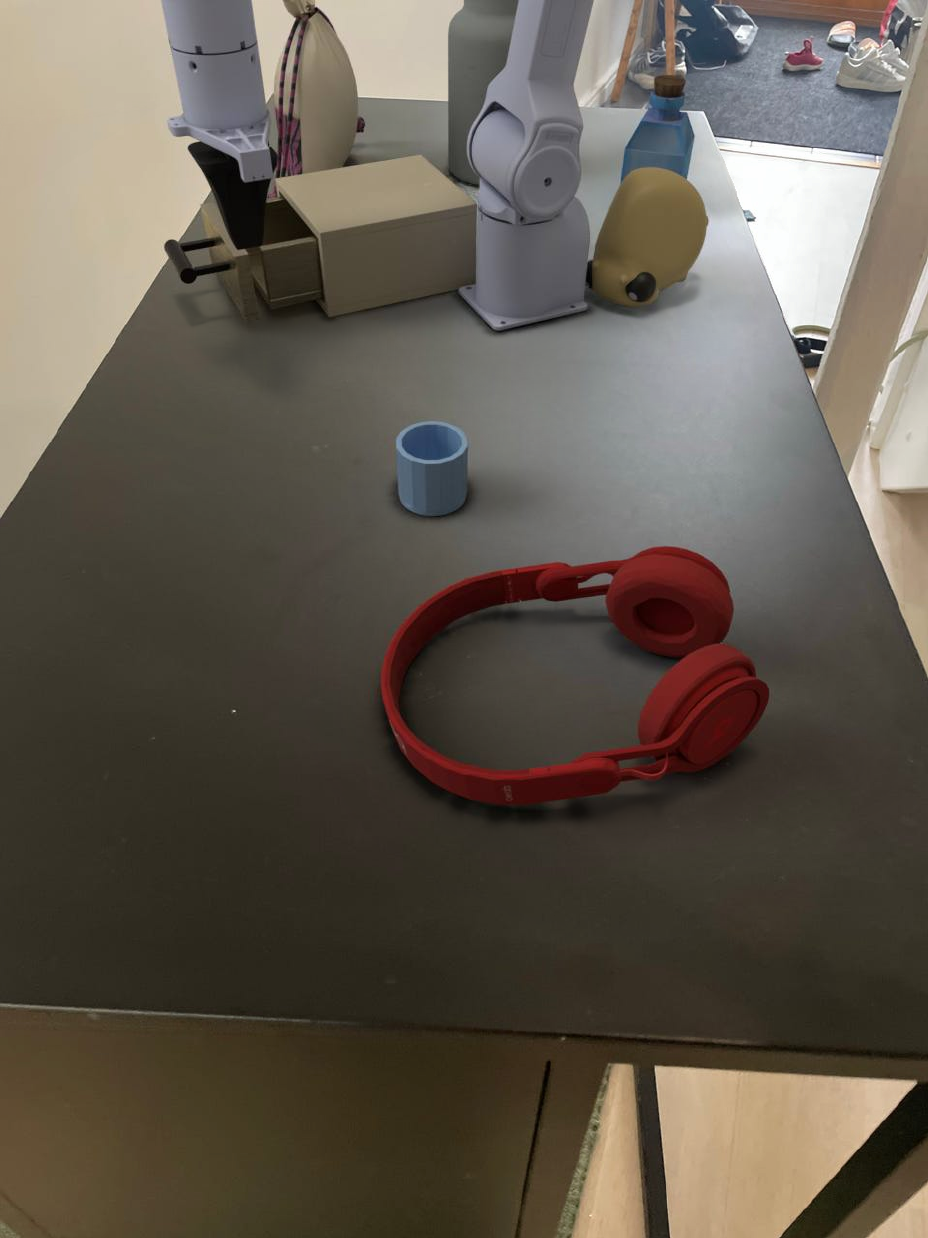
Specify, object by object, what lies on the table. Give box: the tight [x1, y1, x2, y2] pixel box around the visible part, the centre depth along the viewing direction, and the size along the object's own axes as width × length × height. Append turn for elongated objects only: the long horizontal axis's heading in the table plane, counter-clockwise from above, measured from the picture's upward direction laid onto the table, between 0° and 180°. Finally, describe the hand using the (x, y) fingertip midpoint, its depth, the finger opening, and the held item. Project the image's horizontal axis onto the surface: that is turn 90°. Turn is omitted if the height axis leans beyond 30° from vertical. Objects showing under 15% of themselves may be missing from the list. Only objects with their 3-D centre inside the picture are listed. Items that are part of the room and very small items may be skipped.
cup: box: [395, 420, 469, 517], centre depth 63 cm, size 5×5×4 cm
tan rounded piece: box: [585, 167, 710, 308], centre depth 82 cm, size 10×12×11 cm
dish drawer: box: [163, 196, 324, 322], centre depth 82 cm, size 18×11×6 cm, turn 115°
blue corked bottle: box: [619, 74, 696, 185], centre depth 95 cm, size 6×6×12 cm
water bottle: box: [447, 0, 519, 186], centre depth 95 cm, size 10×10×28 cm
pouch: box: [267, 0, 366, 199], centre depth 95 cm, size 25×8×19 cm, turn 171°
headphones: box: [380, 545, 770, 806], centre depth 50 cm, size 15×7×20 cm
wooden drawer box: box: [274, 154, 478, 318], centre depth 85 cm, size 15×13×8 cm
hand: (247, 244), depth 70 cm, fingers closed
